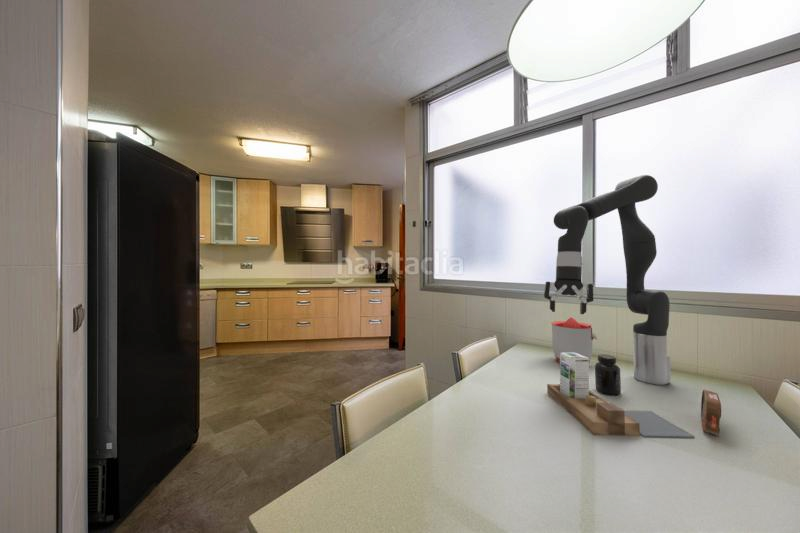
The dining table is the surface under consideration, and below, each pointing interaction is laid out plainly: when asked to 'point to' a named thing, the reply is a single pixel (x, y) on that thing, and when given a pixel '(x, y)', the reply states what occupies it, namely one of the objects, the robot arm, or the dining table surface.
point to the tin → (710, 412)
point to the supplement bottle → (607, 376)
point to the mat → (656, 425)
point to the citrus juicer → (572, 338)
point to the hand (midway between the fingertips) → (567, 312)
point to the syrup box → (574, 375)
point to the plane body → (596, 413)
